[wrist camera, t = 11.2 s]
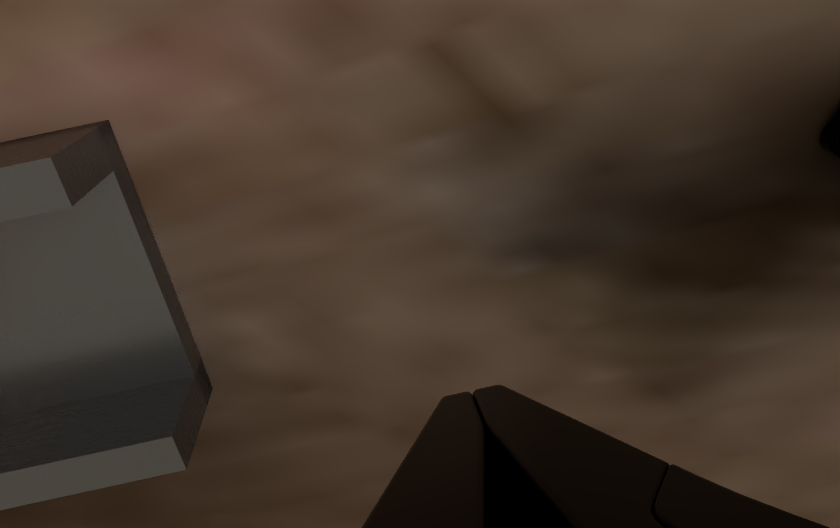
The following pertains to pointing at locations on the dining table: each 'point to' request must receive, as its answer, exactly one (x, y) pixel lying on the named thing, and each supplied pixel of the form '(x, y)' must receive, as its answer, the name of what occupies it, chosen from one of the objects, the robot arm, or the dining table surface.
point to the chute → (87, 326)
